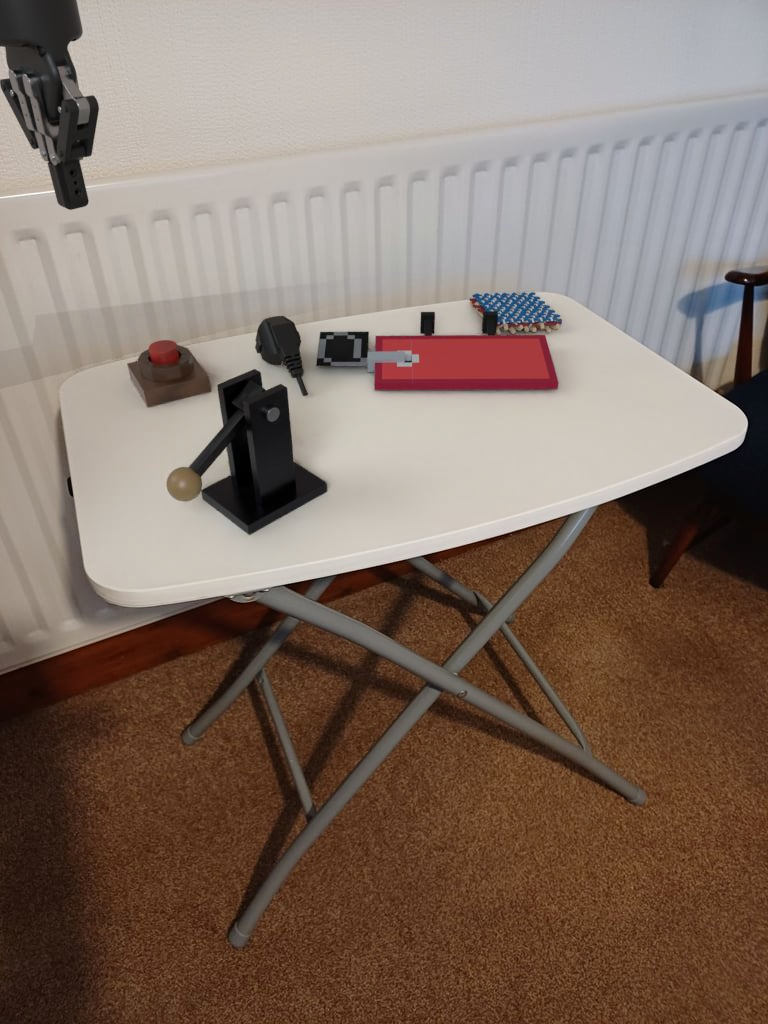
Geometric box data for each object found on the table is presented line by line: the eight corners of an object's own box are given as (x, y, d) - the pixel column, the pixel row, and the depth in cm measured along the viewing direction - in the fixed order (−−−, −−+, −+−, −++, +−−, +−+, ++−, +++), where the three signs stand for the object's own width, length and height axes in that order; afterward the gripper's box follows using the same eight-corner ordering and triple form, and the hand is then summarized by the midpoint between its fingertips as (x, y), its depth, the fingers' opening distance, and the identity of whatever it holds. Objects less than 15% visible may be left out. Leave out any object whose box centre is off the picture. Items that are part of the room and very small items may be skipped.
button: (155, 368, 94) (152, 355, 93) (147, 356, 97) (145, 343, 96) (182, 361, 96) (180, 348, 94) (174, 350, 98) (172, 337, 97)
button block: (147, 407, 94) (140, 378, 92) (130, 378, 100) (123, 350, 97) (211, 391, 97) (206, 362, 95) (191, 364, 103) (186, 336, 100)
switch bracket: (249, 535, 76) (233, 422, 68) (202, 499, 80) (181, 389, 72) (327, 491, 81) (321, 382, 73) (279, 459, 86) (268, 353, 78)
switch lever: (192, 513, 72) (172, 497, 70) (173, 498, 74) (153, 481, 72) (282, 407, 74) (265, 387, 72) (261, 395, 76) (244, 375, 74)
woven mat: (465, 304, 114) (467, 291, 113) (530, 302, 117) (533, 289, 116) (493, 335, 107) (496, 321, 105) (562, 332, 110) (566, 319, 108)
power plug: (284, 396, 94) (252, 311, 97) (276, 422, 101) (247, 342, 104) (327, 386, 96) (295, 302, 99) (317, 412, 103) (287, 333, 106)
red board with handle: (321, 330, 108) (313, 393, 97) (320, 312, 106) (312, 374, 95) (539, 329, 108) (557, 392, 97) (542, 311, 106) (560, 372, 95)
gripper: (-70, -36, 60) (0, 199, 71) (4, -24, 52) (70, 235, 63) (25, -41, 64) (78, 181, 75) (106, -31, 56) (151, 214, 67)
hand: (74, 206), depth 69 cm, fingers closed
